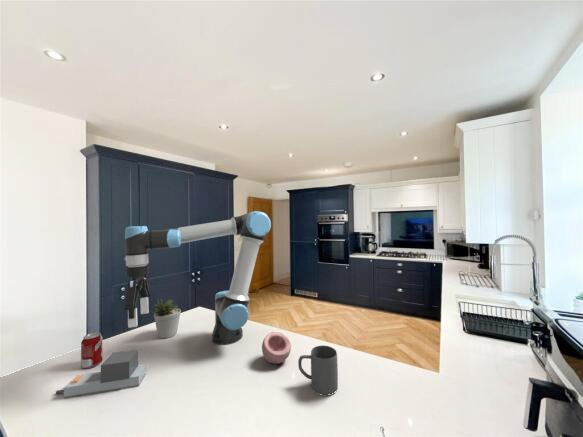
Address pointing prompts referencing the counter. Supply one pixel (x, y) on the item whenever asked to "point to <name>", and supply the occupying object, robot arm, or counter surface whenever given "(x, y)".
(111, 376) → the plug
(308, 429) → the counter surface
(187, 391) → the counter surface
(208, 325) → the counter surface
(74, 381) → the socket strip
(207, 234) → the robot arm
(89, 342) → the soda can
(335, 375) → the mug
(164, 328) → the potted plant
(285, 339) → the pink round pot
